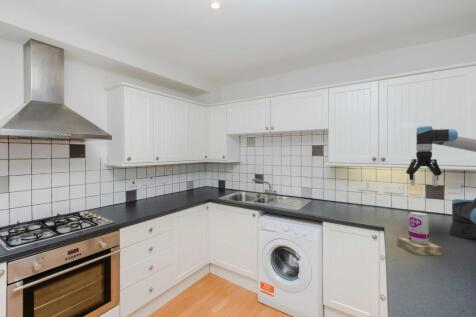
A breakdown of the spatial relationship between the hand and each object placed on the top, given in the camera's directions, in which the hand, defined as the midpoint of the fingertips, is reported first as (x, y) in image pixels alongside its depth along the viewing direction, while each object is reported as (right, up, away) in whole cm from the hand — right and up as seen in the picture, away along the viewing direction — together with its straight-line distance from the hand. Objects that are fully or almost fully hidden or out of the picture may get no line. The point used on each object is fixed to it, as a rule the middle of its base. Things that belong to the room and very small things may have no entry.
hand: (423, 185), depth 142 cm
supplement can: (-21, -27, -22) cm, 41 cm away
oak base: (-21, -31, -22) cm, 43 cm away
